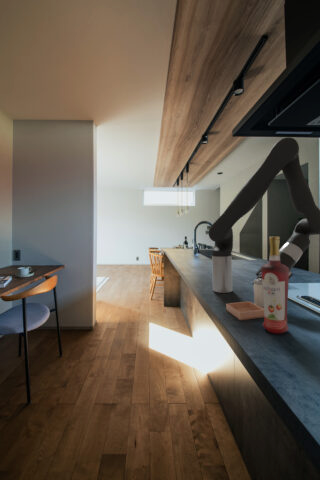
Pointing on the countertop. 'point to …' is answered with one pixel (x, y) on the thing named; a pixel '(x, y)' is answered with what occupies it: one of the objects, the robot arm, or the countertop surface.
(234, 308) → the dish
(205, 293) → the countertop surface
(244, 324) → the countertop surface
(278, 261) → the liquor
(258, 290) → the battery cell
